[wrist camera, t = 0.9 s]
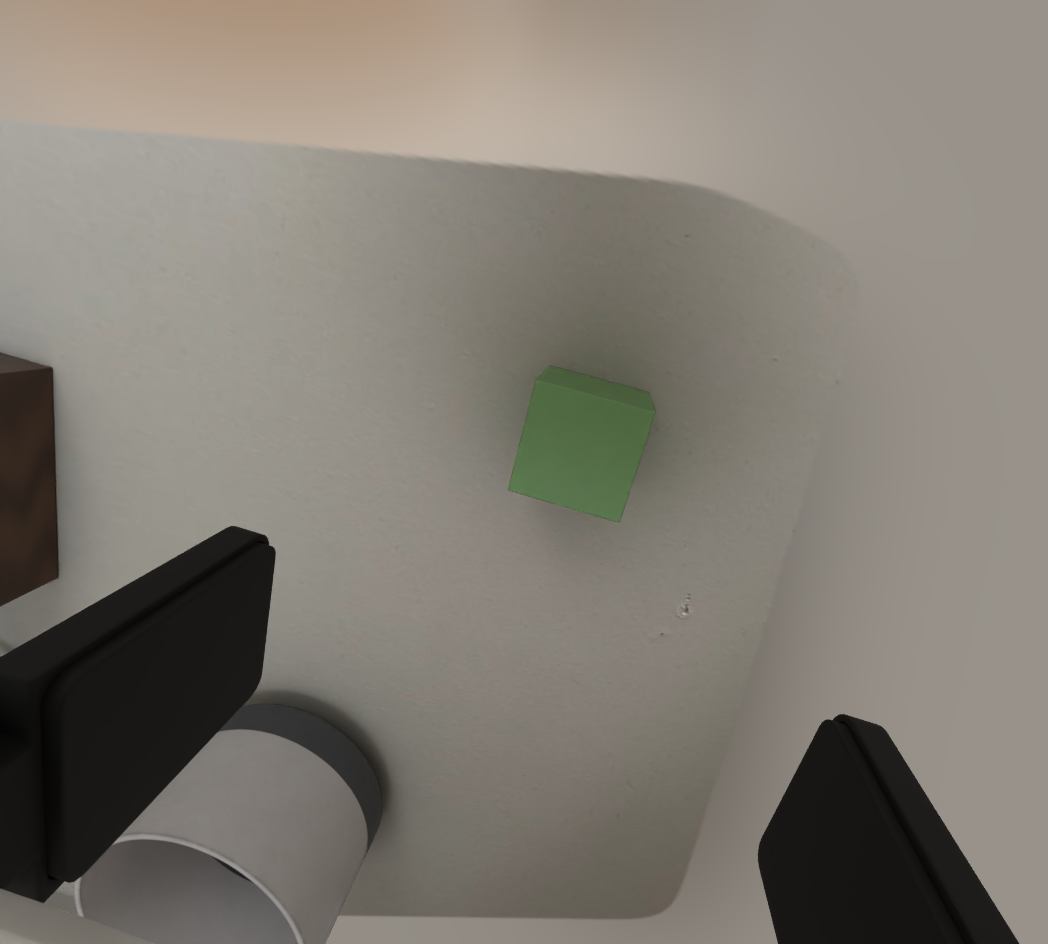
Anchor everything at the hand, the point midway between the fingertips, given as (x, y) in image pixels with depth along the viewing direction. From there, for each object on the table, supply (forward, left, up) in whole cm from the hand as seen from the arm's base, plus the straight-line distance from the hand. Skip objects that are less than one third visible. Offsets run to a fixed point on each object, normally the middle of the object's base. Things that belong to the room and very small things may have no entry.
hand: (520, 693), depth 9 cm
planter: (+28, -12, -20) cm, 37 cm away
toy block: (0, 0, -20) cm, 20 cm away
